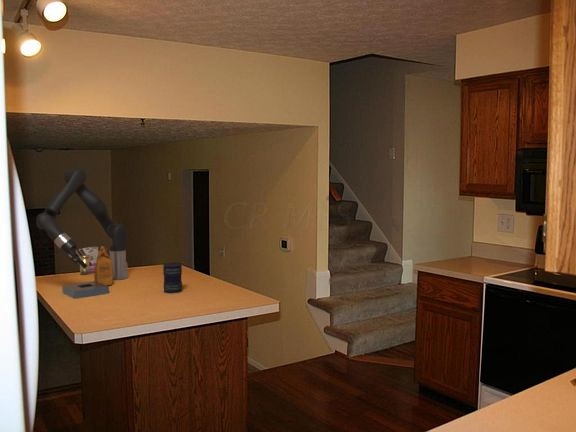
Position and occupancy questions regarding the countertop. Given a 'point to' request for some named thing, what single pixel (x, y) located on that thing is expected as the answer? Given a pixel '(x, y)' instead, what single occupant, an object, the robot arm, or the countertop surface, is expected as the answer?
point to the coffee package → (103, 268)
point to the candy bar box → (92, 256)
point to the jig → (85, 289)
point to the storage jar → (172, 277)
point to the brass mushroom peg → (87, 270)
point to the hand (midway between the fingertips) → (88, 266)
